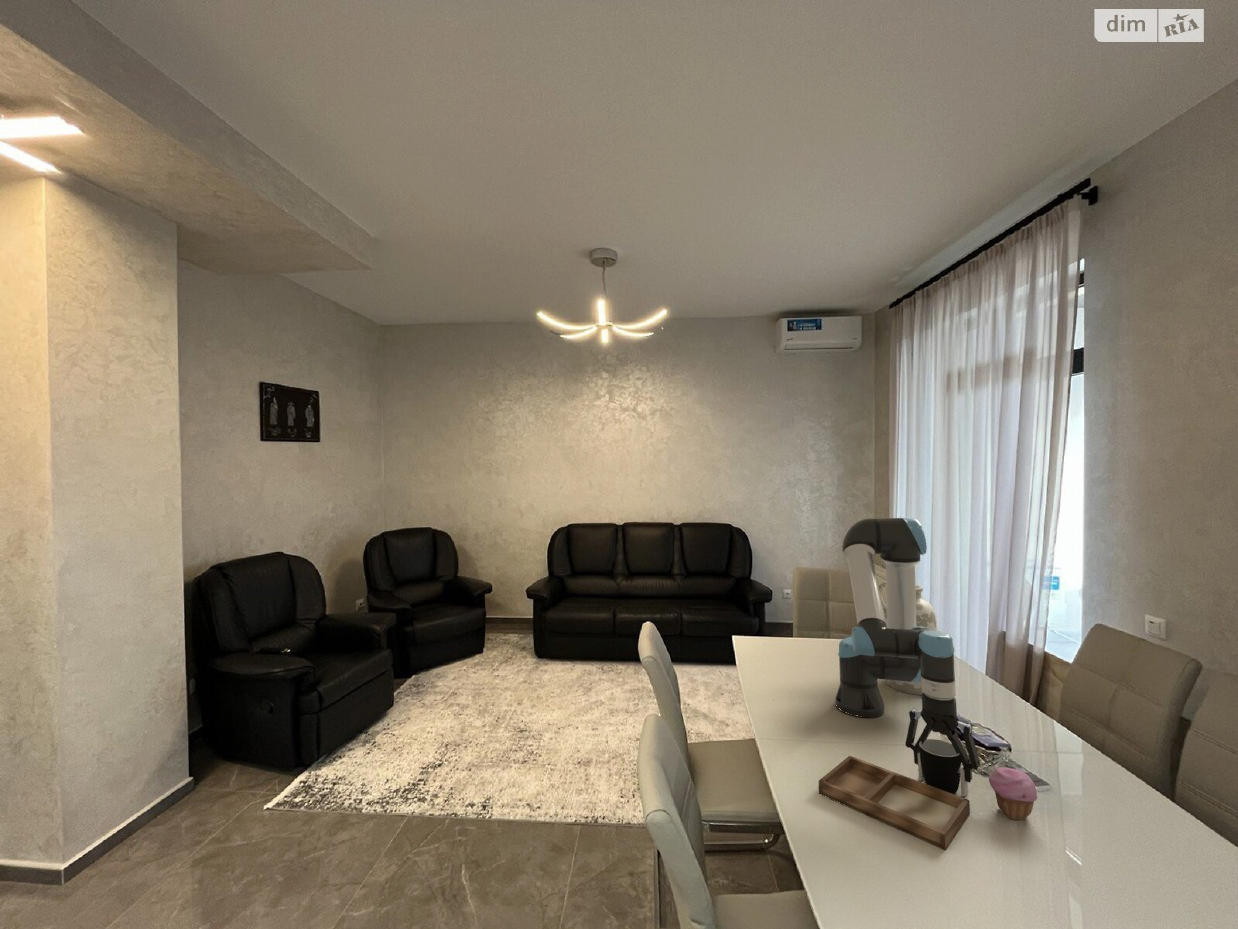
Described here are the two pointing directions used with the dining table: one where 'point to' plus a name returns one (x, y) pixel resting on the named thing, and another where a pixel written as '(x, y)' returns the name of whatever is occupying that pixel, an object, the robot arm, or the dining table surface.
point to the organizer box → (897, 800)
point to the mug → (940, 765)
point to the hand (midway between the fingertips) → (943, 785)
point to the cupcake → (1013, 792)
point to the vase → (923, 619)
